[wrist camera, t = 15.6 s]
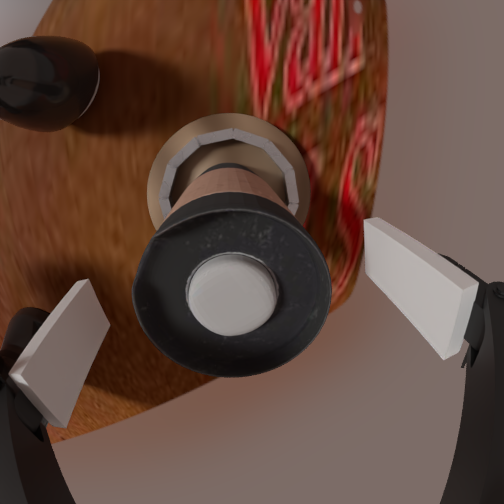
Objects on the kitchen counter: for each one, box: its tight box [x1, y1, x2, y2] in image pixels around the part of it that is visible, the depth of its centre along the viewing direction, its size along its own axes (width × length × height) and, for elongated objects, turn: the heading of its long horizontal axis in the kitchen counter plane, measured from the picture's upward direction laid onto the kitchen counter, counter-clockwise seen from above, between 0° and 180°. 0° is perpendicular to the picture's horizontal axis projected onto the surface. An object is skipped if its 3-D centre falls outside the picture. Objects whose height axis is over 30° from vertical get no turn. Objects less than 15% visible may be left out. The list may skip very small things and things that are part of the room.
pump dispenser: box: [0, 36, 100, 132], centre depth 16 cm, size 10×10×15 cm
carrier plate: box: [147, 113, 311, 230], centre depth 28 cm, size 17×17×3 cm
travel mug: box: [132, 163, 332, 377], centre depth 19 cm, size 8×8×20 cm
